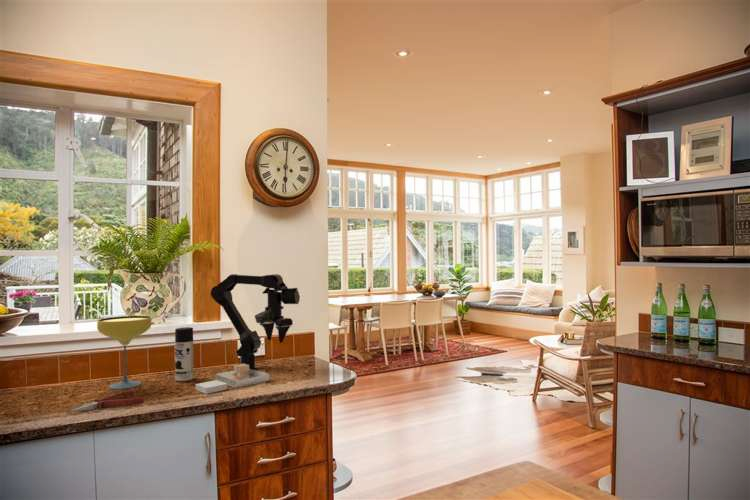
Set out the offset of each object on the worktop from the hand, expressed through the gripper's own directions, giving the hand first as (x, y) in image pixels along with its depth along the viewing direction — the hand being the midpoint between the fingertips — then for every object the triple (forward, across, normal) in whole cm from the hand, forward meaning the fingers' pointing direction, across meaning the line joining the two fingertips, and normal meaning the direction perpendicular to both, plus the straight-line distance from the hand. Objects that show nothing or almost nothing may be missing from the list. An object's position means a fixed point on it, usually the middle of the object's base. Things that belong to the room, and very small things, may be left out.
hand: (275, 341), depth 202 cm
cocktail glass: (+12, -19, -53) cm, 57 cm away
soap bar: (+12, +10, -32) cm, 36 cm away
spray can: (+12, -12, -34) cm, 38 cm away
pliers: (+13, +2, -64) cm, 65 cm away
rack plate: (+12, +6, -19) cm, 23 cm away
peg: (+12, +6, -19) cm, 23 cm away
